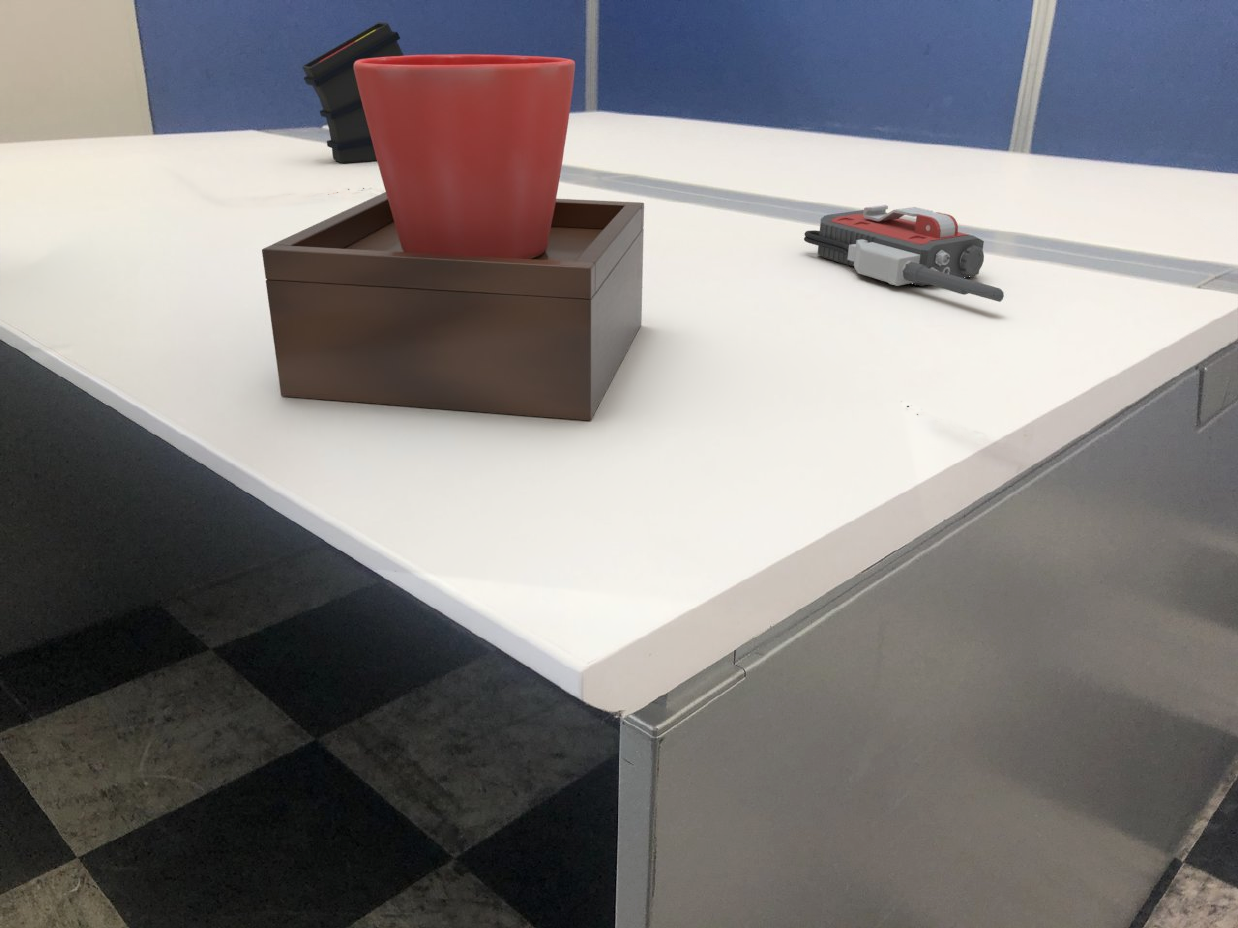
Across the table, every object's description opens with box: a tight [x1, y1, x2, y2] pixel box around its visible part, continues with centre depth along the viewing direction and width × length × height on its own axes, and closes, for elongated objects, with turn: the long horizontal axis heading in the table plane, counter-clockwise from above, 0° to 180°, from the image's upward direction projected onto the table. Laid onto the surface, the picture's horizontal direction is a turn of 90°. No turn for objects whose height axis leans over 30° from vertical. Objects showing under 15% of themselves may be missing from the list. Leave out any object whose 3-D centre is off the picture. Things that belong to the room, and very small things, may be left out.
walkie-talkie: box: [803, 204, 1005, 303], centre depth 74 cm, size 9×4×20 cm
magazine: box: [301, 21, 405, 164], centre depth 121 cm, size 4×13×15 cm, turn 123°
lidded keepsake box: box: [261, 191, 645, 421], centre depth 56 cm, size 16×16×8 cm
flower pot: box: [354, 53, 576, 259], centre depth 53 cm, size 11×11×10 cm
